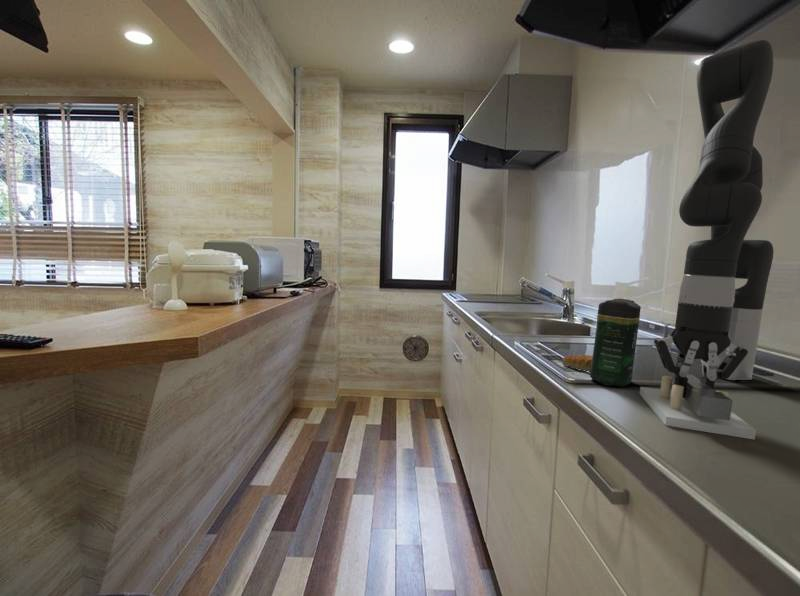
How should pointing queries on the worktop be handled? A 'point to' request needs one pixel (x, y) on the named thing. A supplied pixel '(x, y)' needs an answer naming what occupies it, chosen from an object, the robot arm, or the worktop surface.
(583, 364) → the pastry
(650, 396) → the rack
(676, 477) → the worktop surface
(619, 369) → the coffee jar
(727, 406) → the grey long block
